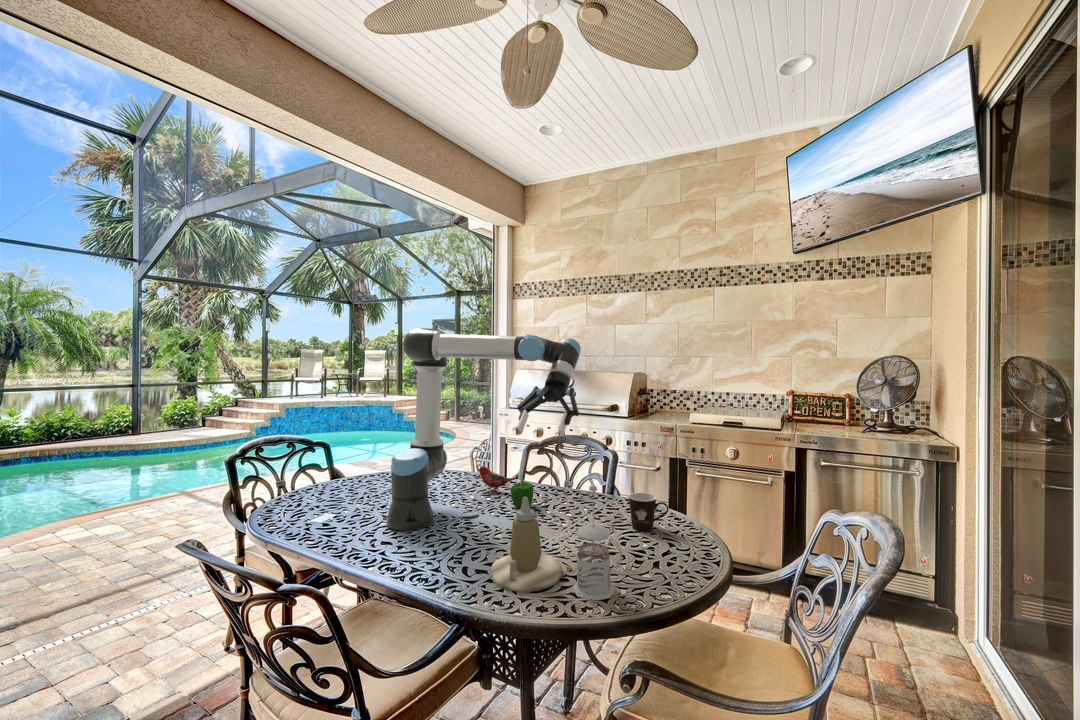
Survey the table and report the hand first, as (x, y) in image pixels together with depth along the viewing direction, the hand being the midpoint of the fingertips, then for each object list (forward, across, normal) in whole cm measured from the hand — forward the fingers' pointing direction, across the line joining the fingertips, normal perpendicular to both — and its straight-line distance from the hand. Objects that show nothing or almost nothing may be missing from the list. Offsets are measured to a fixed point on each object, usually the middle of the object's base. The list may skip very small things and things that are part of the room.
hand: (539, 431), depth 141 cm
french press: (+38, -25, -9) cm, 46 cm away
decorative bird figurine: (-2, +36, -48) cm, 60 cm away
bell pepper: (+6, +19, -40) cm, 45 cm away
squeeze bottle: (+37, -6, -8) cm, 38 cm away
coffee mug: (+8, -27, -38) cm, 48 cm away
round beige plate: (+38, -6, -8) cm, 39 cm away
